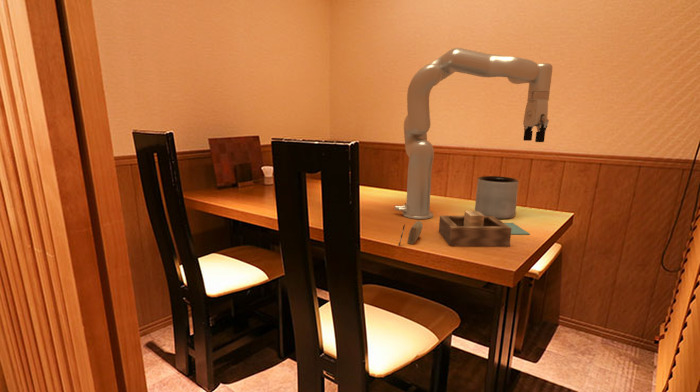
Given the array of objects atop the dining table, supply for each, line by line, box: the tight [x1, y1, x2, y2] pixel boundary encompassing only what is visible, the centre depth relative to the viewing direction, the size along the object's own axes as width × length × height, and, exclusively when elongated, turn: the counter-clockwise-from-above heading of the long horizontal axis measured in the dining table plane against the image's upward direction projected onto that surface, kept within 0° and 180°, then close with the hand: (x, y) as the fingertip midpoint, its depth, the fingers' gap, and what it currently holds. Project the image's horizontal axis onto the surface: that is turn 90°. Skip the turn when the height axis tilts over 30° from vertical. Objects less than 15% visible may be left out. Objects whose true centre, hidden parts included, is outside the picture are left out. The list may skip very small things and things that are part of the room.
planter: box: [474, 175, 519, 220], centre depth 155 cm, size 16×16×16 cm
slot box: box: [438, 214, 512, 248], centre depth 124 cm, size 19×15×6 cm
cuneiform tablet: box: [398, 219, 423, 246], centre depth 121 cm, size 7×4×12 cm
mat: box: [503, 222, 531, 236], centre depth 137 cm, size 12×14×1 cm
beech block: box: [463, 210, 484, 226], centre depth 124 cm, size 4×6×9 cm
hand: (533, 141), depth 148 cm, fingers open, 9 cm apart
